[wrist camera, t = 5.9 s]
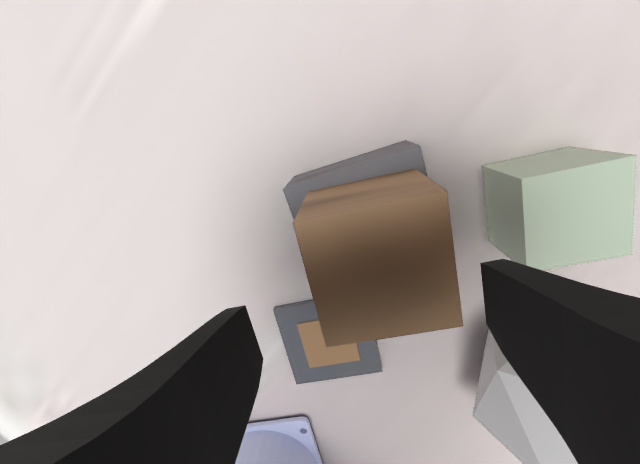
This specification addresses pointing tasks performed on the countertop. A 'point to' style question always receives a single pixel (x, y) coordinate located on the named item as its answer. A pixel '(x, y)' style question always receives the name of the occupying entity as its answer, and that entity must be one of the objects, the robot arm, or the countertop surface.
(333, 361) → the tile
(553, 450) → the pale gray rock
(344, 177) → the charcoal base block
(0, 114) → the countertop surface
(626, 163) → the sage cube
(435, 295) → the walnut cube
